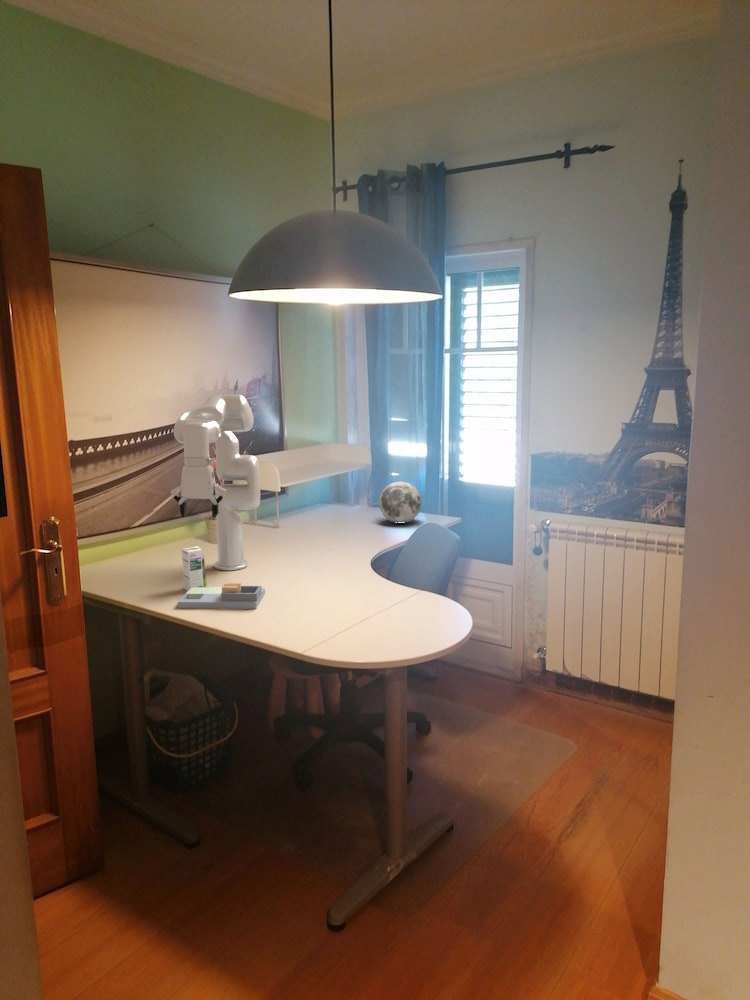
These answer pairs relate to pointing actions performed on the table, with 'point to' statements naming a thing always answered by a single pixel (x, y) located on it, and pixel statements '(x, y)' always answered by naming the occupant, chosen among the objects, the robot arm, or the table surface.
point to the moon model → (400, 502)
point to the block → (231, 588)
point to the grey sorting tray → (222, 598)
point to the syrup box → (193, 567)
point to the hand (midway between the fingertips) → (199, 516)
